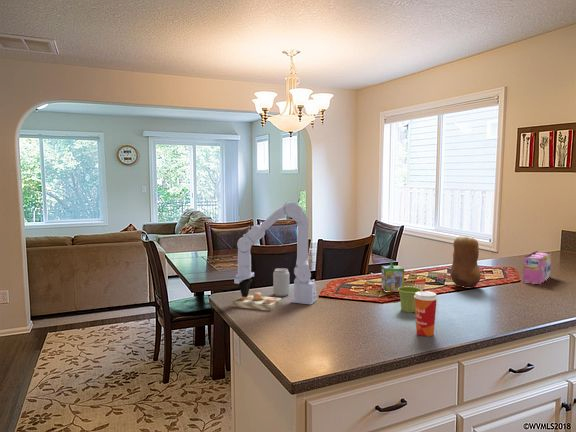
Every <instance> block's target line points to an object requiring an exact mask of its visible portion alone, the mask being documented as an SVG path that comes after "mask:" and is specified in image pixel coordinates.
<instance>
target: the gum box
mask: <svg viewBox="0 0 576 432" xmlns="http://www.w3.org/2000/svg"><path fill="white" fill-rule="evenodd" d="M551 268H552V253H551V252H547V253H545V252H539V251H533V252H531V253H529V254H527V255H525V256H523V269H522V270H523V271H522V283H523V282H529V283H535V284H540V285H542V284H543V283H544V281H545V280H546V281H548V280H549V279H550V278H549V277H551V273H552V272H551V271H552V269H551ZM548 278H549V279H548ZM547 279H548V280H547ZM546 281H545V282H546ZM542 282H543V283H542ZM541 283H542V284H541Z"/></svg>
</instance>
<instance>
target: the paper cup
mask: <svg viewBox="0 0 576 432" xmlns="http://www.w3.org/2000/svg"><path fill="white" fill-rule="evenodd" d="M414 298H415V311H416V312H415V328H416V329H415V330H416V334H417V335H418V336H421V337H433V336H434V334H435V333H434V332H435V323H436V311H437V300H438V296H437V293H435V292H434V291H428V290H426V291H423V290H422V291H420V292H419V291H418V292H416V293H415V295H414Z"/></svg>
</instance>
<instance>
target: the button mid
mask: <svg viewBox="0 0 576 432" xmlns="http://www.w3.org/2000/svg"><path fill="white" fill-rule="evenodd" d="M252 295H253V300H254V301H261V296H262V292H259V291H258V292H257V291H256V292H253V294H252Z"/></svg>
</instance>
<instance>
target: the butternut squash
mask: <svg viewBox="0 0 576 432" xmlns="http://www.w3.org/2000/svg"><path fill="white" fill-rule="evenodd" d="M479 250H480V249H479V242H478V240H477V239H476V238H474V237H470V236H469V237H468V236H458V237H456V238H455V239H454V241H453V253H452V264H451V267H450V269H449V270H450V271H449V274H450V278H451V280H452V282H453V284H455V286H458V285H460V286H459V287H461V286H464V287H471V288H474V287H477V285H478V283H480V281H481V276H482V275H481V271H480V268H479V266H478V259H479Z"/></svg>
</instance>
